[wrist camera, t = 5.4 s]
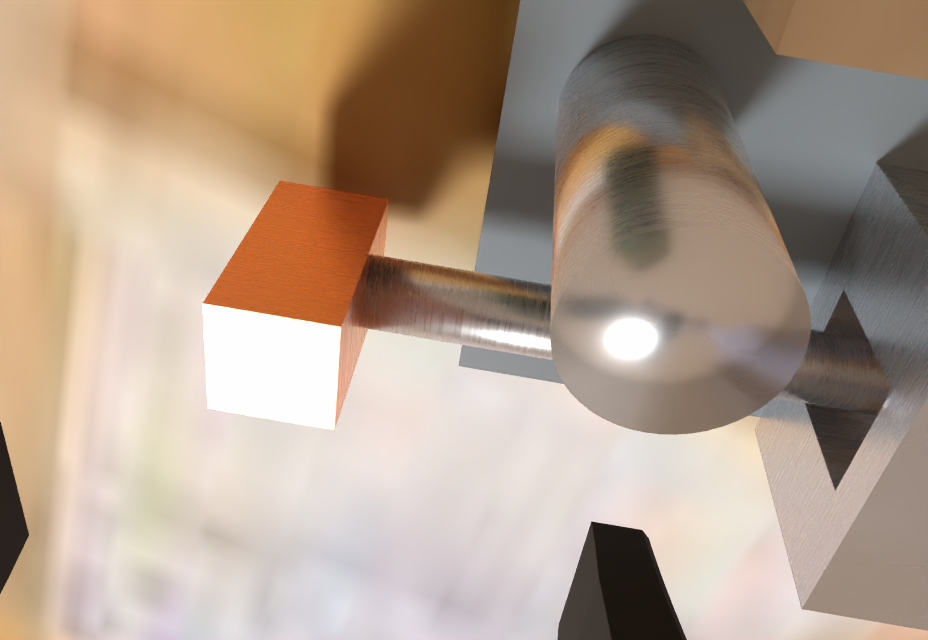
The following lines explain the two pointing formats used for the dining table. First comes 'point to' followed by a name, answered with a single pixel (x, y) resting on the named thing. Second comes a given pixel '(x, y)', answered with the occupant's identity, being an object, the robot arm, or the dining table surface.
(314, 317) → the orange grey long bar
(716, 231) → the peg
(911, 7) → the socket
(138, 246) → the dining table surface
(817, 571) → the block
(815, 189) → the board
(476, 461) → the dining table surface
